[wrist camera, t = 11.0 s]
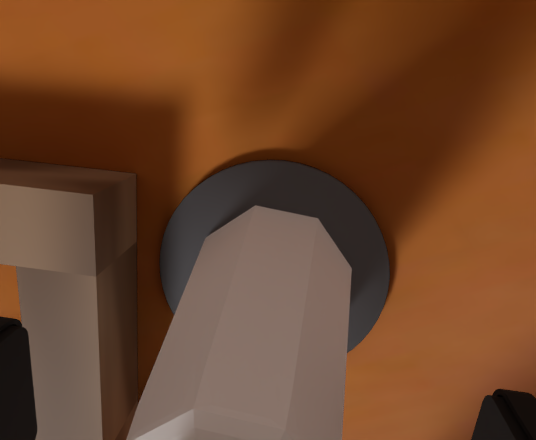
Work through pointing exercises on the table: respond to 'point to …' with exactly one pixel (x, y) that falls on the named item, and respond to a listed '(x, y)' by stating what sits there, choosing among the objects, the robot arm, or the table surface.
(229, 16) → the table surface
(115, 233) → the board
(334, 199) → the coaster
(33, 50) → the table surface
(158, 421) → the pepper shaker
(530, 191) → the table surface
